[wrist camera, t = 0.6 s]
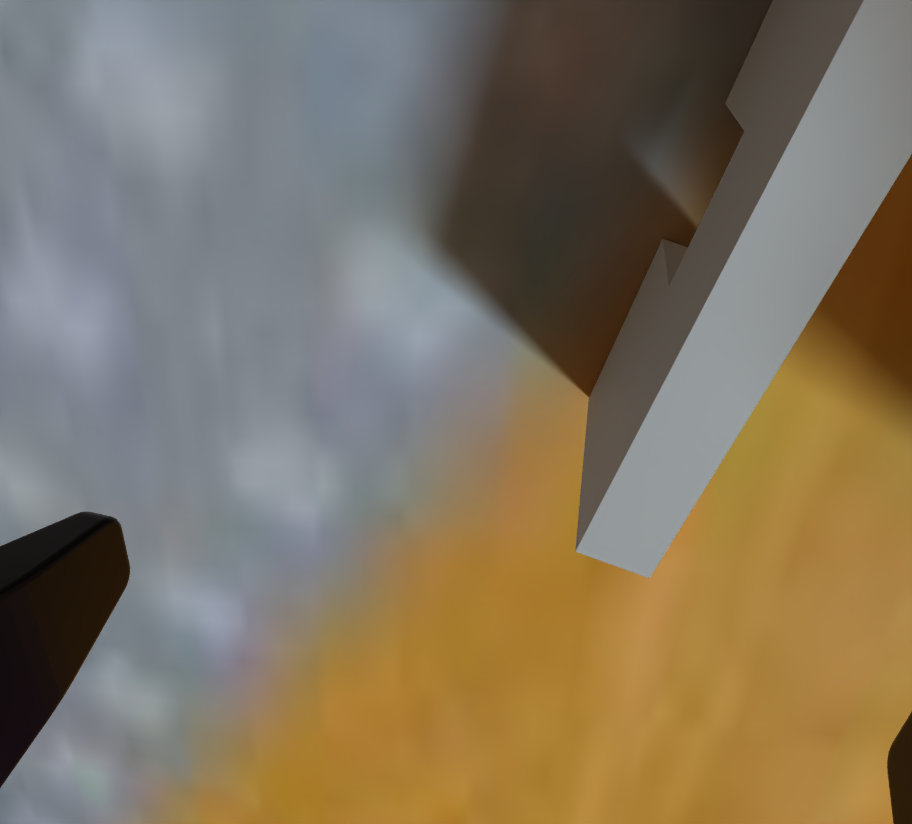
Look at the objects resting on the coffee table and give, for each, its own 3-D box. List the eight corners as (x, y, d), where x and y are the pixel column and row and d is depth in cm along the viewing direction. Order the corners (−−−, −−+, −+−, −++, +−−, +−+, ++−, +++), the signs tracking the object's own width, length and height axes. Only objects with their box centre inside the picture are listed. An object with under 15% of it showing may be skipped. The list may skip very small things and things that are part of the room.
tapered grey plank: (930, -136, 13) (1131, -202, 8) (643, 417, 19) (649, 578, 14) (848, -164, 13) (993, -249, 8) (589, 398, 19) (575, 551, 14)
